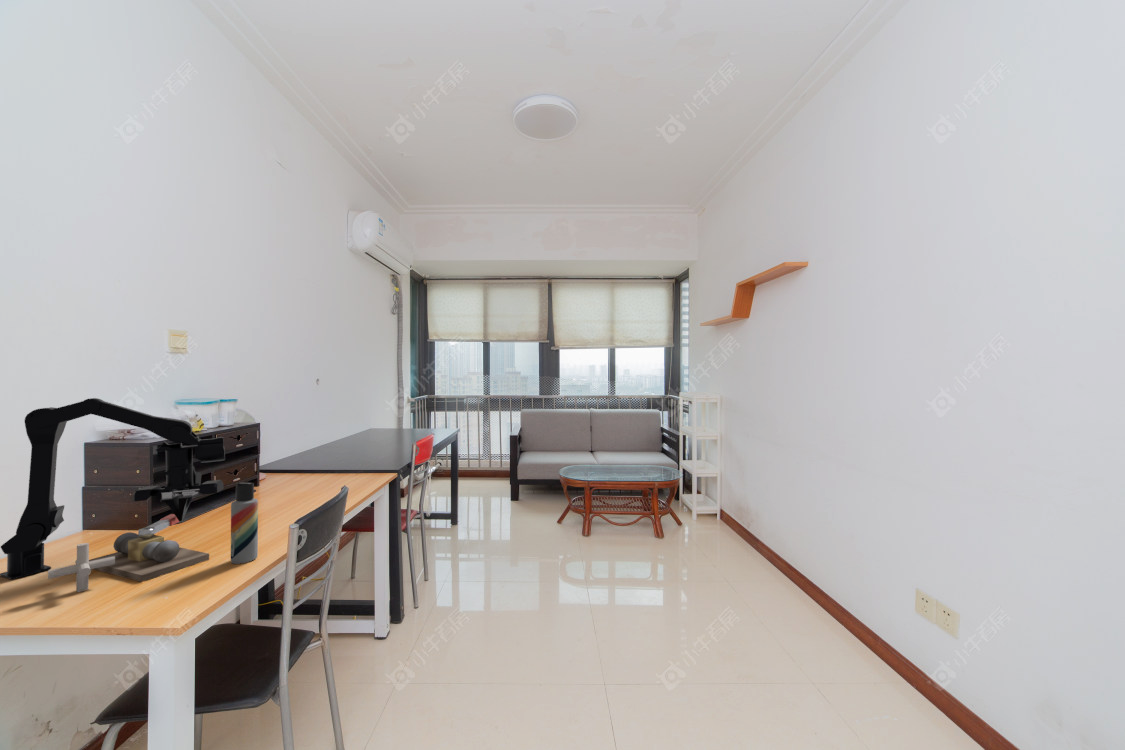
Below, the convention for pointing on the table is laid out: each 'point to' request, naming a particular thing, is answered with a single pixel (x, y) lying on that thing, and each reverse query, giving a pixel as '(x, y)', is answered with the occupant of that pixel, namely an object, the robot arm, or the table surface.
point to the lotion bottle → (244, 524)
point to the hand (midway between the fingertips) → (181, 520)
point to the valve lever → (158, 526)
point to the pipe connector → (81, 567)
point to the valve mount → (149, 557)
